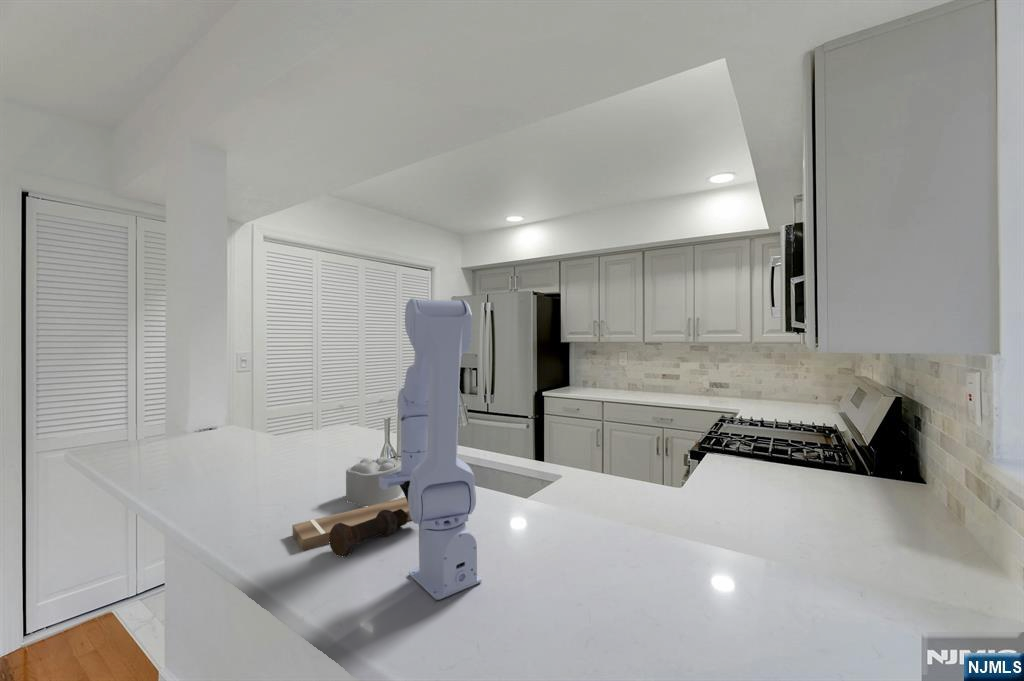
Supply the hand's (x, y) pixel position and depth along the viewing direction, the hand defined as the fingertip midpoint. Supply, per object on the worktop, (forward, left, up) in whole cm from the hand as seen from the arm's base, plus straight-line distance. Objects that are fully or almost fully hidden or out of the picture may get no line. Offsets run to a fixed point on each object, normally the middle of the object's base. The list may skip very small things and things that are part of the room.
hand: (416, 516), depth 88 cm
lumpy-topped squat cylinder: (+22, -1, -2) cm, 22 cm away
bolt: (0, +9, -2) cm, 9 cm away
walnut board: (+7, +8, -2) cm, 11 cm away
